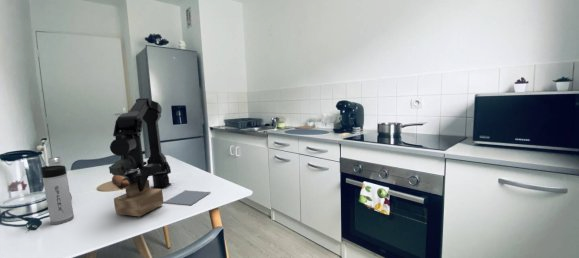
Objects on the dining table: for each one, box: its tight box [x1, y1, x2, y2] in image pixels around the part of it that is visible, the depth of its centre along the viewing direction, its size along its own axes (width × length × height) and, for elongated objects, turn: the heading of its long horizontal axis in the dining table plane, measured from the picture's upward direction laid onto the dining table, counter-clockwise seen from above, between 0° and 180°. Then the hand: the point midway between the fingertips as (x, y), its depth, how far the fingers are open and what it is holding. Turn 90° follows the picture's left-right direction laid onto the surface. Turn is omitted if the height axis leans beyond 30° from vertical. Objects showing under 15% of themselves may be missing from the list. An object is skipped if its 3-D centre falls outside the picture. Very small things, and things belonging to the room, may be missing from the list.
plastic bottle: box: [47, 156, 73, 202], centre depth 104 cm, size 6×7×20 cm
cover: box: [113, 179, 165, 217], centre depth 95 cm, size 11×11×10 cm
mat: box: [163, 190, 211, 207], centre depth 106 cm, size 13×13×1 cm
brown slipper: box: [111, 175, 130, 190], centre depth 130 cm, size 18×7×7 cm
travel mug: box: [40, 165, 75, 225], centre depth 90 cm, size 6×7×20 cm
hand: (138, 190), depth 95 cm, fingers closed on cover, 2 cm apart
